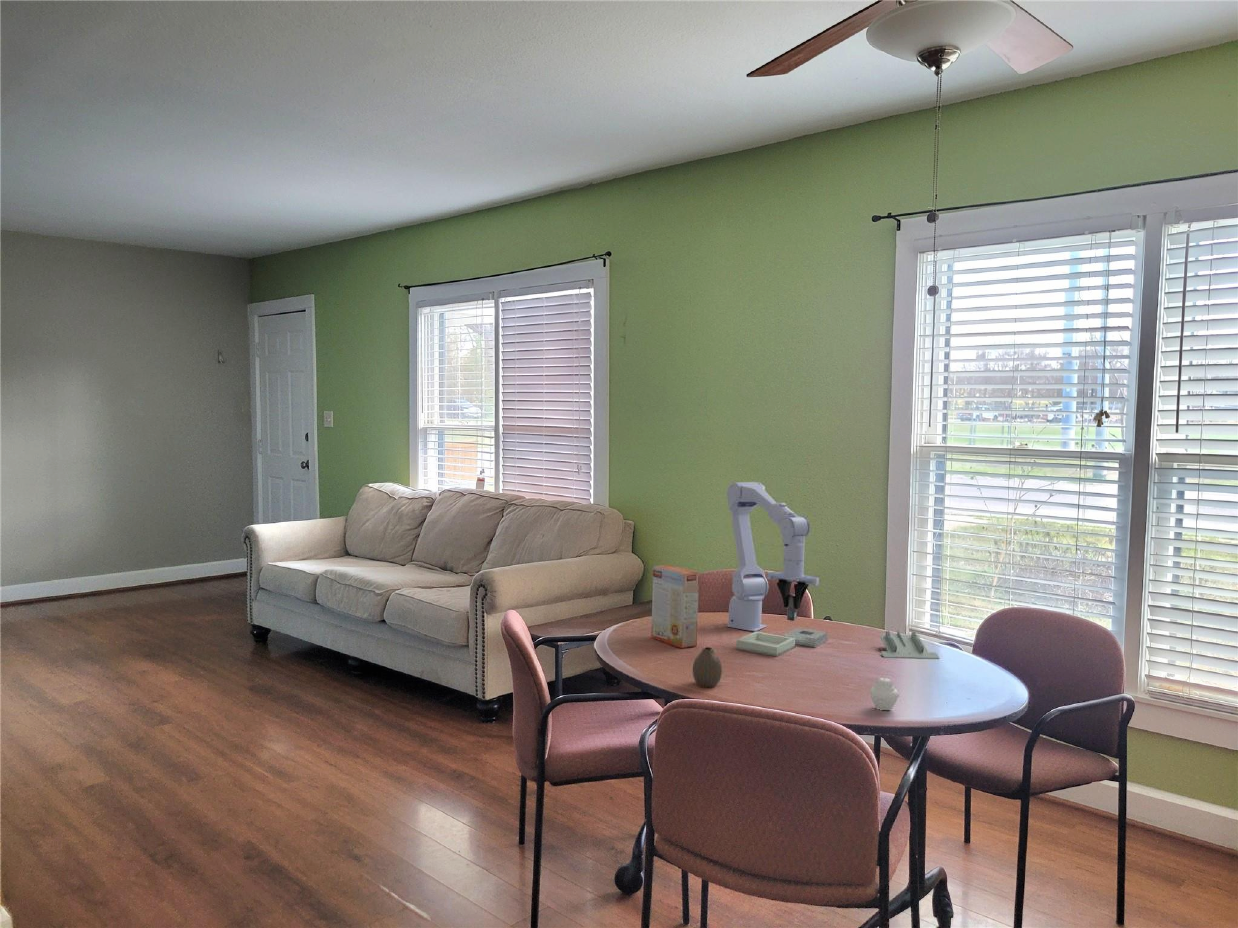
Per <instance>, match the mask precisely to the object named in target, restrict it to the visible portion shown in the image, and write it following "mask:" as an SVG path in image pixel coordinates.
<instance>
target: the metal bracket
mask: <svg viewBox="0 0 1238 928" xmlns="http://www.w3.org/2000/svg"><path fill="white" fill-rule="evenodd" d="M878 636H879V638H880V639H881V641H882V644H883V645H884V647H885V649H886V651H885V650H882V651H881V652H880V653H881V655H882V656H883V658H884V659H916V660H917V659H920V660H925V659H926V660H940V656H939V655H938V653H937V652H930V651H928V649H927V647H926V646H925V644H924V642H923V641H922V638H920V636H919V634H916V631H911V634H904V633H901V632H900V630H897V633H891V632H890V630H886V631H885V633H879V634H878Z"/></svg>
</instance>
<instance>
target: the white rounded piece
mask: <svg viewBox="0 0 1238 928" xmlns="http://www.w3.org/2000/svg"><path fill="white" fill-rule="evenodd" d="M869 694H870V699H871V700H872V703H873V704H874V707H875V709H876V708H879V709H882V710H890V709H891V710H892V709H893V707H894V706H895V705H896V703H897V701H898V699H899V697H900V694H899V691H898V690H897V689H896V688H895V686H894V683H893V681H892V680H891V679H889V678H886V677H881V678H878V679H876V683H875V684H874V686H872V687H871V688H870V689H869ZM891 710H890V711H891Z"/></svg>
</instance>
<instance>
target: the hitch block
mask: <svg viewBox="0 0 1238 928" xmlns="http://www.w3.org/2000/svg"><path fill="white" fill-rule="evenodd" d="M784 637H790V638H795V645H798V646H799V645H800V646H803V647H804V646H805V647H811V648H817V647H820V645H822V644H825V643H826V642H827V641H828V632H827V631H822V630H816V629H810V628H803V627H796V628H793V629H792V630H789V631H787V632H786V633H785V634H784Z"/></svg>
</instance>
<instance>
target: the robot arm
mask: <svg viewBox="0 0 1238 928" xmlns="http://www.w3.org/2000/svg"><path fill="white" fill-rule="evenodd" d="M726 498H727V503H728V510H729V511H730V515H731V523H732V524H731V525H732V530H733V536H734V541H735V548H736V556H737V562H738V563H737V564H738V568H737V569H736V570H735V571H734V572H733V573H732V575H731V576H732V583H731V589H732V592H733V596H732V597H731V599H730V601H729V605H728V624H727V625H726V627H728V628H733V629H739V630H745V631H750V632H756V631H757V632H758V631H760V630H762V629H764V628H766V627H767V625H766V624H762V613H763V611H762V608H763V600H764V599H765V596H766V595H767V594H768V592H769V582H768V580H773V581H777V582H776V586H777V588H778V590H779V591H780V595H781V598H782V602H783V607H784V608H787V603H788V594H791V588H792V583H795V584H793V590H794V594H795V609H797V610H798V609H799V610H800V609H801V604H802V601H803V598H804V595H805V594H806V591H807V589H808V587H809V586H810V585H812V586H814V587H817V586H819V584H820V578H819V577H815V576H811V575H807V574H804V573H805V572H804V571H805V570H804V569H805V547H806V545H805V543H806V537H808V535H809V533H810V530H811V527H810V521H809V520H808V519H807V517H806V516H805V515H801V516H800V515H797V514H796V512H794V511H792V509H790V508H788V507H787V504H786V503H785V502H776V501H775V500H774V498H772V497H771V496H770V494H769V493H768V492H767V491H766V487H765V485H764V484H762V483H761V482H760V481H748V482H747V481H745V482H744V481H738V482H737V481H733V482H731V483H730V484H729V486H728V488H727V490H726ZM757 506H760V508H763V510H765V511H766V512H767V516H768V518H769V519H770V520H771V521H772V522H773V523H774V524H775V525H776V526H777V527H779V531H780V535H781V541H782V543H783V559H782V560H783V562H782V572H779V571H769V572H767V576H766V575H765V570H764V569H763V568H761V567H760V566H758V565H757V564H758V563H757V559H756V553H755V546H754V541H753V534H752V528H751V521H750V513H751V511H753V510H755V508H756V507H757Z"/></svg>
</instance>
